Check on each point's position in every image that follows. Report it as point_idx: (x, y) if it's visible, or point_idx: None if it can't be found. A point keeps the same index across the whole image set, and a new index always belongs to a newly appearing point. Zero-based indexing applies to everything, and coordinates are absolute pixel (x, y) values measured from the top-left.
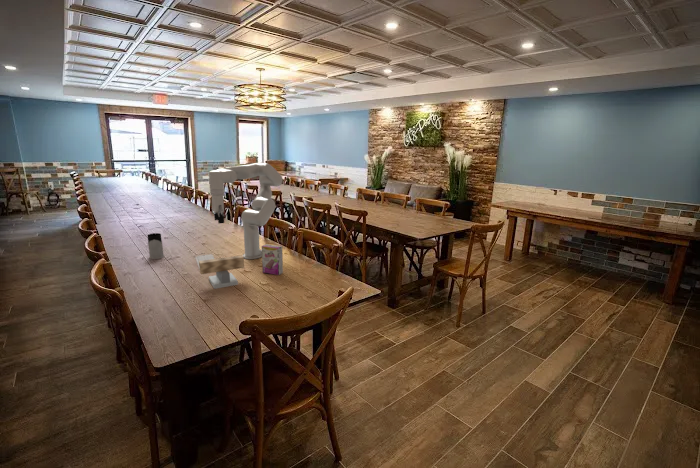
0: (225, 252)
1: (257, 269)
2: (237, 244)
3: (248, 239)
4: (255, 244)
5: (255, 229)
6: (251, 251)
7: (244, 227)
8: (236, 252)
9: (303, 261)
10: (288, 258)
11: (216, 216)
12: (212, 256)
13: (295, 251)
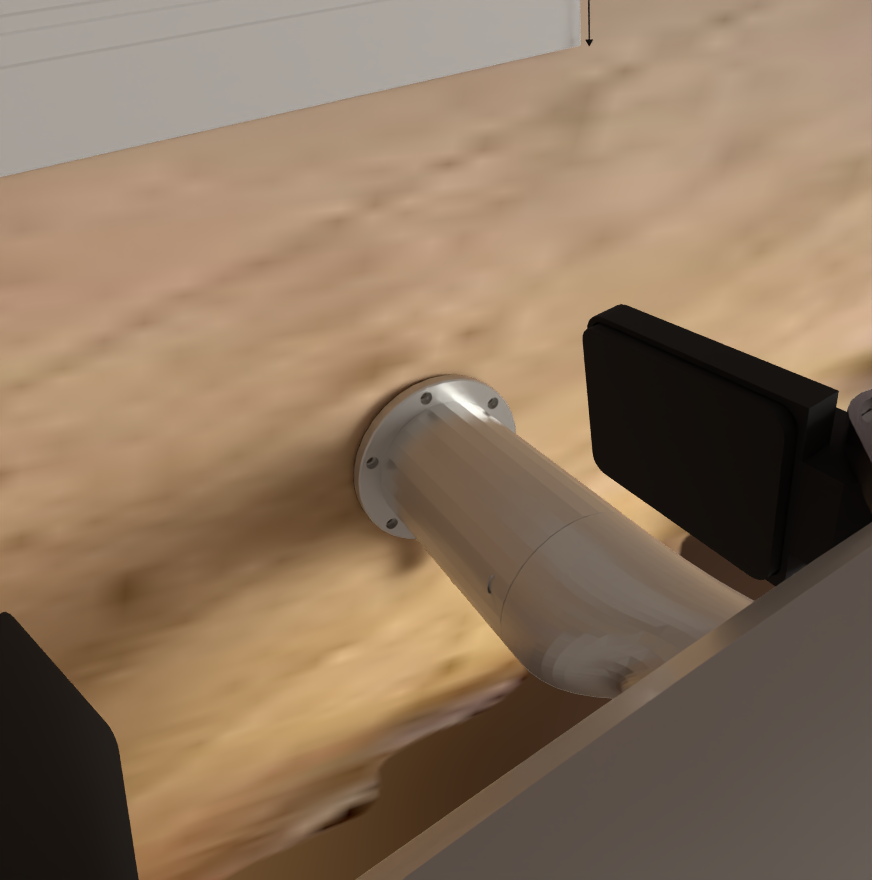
0: (616, 187)
1: (18, 590)
2: (772, 273)
3: (483, 551)
4: (446, 574)
5: (564, 689)
6: (405, 500)
7: (617, 599)
8: (583, 295)
9: (235, 830)
10: (326, 721)
11: (682, 428)
12: (503, 52)
13: (475, 709)
